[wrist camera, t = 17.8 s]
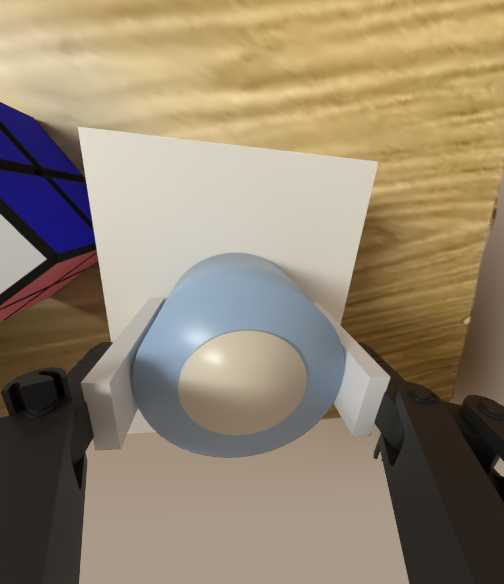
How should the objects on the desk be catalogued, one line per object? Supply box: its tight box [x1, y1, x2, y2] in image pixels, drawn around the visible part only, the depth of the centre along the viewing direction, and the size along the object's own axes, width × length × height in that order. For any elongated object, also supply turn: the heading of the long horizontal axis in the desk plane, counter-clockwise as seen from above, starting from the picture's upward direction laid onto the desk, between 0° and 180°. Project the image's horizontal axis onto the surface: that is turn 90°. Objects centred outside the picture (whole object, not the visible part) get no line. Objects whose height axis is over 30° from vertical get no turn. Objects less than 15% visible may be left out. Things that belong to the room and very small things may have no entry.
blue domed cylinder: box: [132, 253, 345, 458], centre depth 11 cm, size 8×8×6 cm
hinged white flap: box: [78, 127, 378, 434], centre depth 14 cm, size 14×18×1 cm
